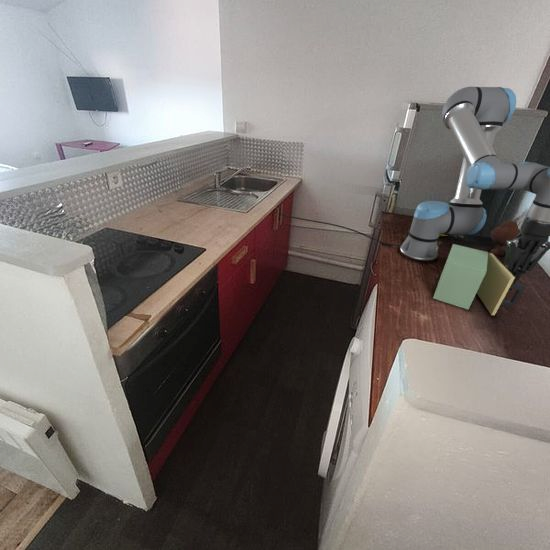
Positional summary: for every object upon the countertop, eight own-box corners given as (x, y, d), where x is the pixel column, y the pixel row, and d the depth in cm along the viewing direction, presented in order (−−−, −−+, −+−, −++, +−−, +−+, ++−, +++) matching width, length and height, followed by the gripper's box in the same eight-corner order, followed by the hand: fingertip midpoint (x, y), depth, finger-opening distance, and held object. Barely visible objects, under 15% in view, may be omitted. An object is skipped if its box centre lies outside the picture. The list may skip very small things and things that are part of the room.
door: (491, 290, 108) (508, 254, 100) (512, 317, 95) (534, 279, 87) (472, 288, 109) (489, 253, 101) (491, 315, 96) (511, 277, 88)
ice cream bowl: (478, 247, 139) (491, 217, 131) (499, 247, 140) (514, 217, 132) (494, 258, 130) (509, 226, 122) (517, 257, 131) (533, 226, 123)
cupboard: (471, 287, 109) (488, 252, 101) (468, 309, 98) (486, 271, 90) (439, 278, 114) (453, 243, 106) (432, 298, 103) (447, 261, 95)
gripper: (528, 224, 82) (494, 293, 94) (575, 225, 81) (534, 294, 94) (510, 214, 88) (480, 280, 100) (554, 215, 88) (518, 282, 100)
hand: (506, 287), depth 97 cm, fingers closed
